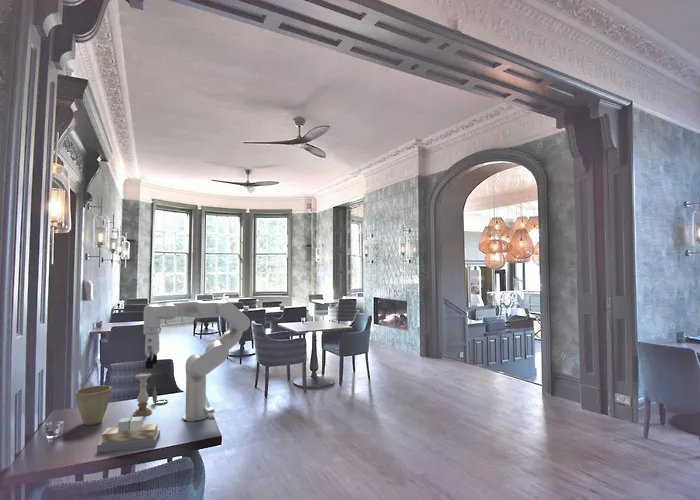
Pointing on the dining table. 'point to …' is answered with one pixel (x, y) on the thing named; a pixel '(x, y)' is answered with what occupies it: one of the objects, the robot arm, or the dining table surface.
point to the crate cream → (136, 423)
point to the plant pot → (93, 403)
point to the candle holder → (142, 396)
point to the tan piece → (129, 433)
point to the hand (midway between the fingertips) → (151, 366)
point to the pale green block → (124, 424)
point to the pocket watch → (156, 397)
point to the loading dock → (128, 444)
